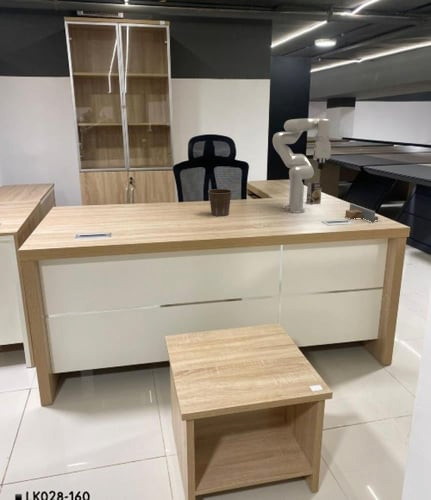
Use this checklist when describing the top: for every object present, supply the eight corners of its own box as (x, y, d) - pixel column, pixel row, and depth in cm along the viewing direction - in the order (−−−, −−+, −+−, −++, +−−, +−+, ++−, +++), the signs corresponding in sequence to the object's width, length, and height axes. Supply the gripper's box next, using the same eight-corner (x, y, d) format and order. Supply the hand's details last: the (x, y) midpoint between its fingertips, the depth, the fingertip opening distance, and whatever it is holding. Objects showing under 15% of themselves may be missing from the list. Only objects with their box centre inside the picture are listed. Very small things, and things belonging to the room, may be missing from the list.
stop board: (371, 222, 268) (372, 211, 266) (349, 213, 292) (350, 203, 290) (379, 222, 269) (380, 211, 267) (356, 213, 293) (357, 203, 291)
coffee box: (310, 204, 322) (312, 183, 317) (305, 203, 327) (307, 182, 322) (320, 203, 325) (322, 182, 320) (315, 202, 331) (317, 181, 326)
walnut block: (350, 220, 276) (351, 212, 274) (345, 217, 282) (345, 210, 280) (361, 219, 277) (362, 211, 276) (355, 216, 284) (356, 209, 282)
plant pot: (229, 217, 281) (230, 193, 277) (206, 216, 285) (205, 192, 280) (233, 212, 297) (234, 189, 292) (211, 211, 300) (211, 188, 295)
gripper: (314, 140, 260) (312, 170, 266) (336, 139, 264) (334, 169, 269) (309, 139, 267) (307, 168, 273) (330, 138, 271) (328, 168, 276)
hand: (320, 169), depth 271 cm, fingers closed
